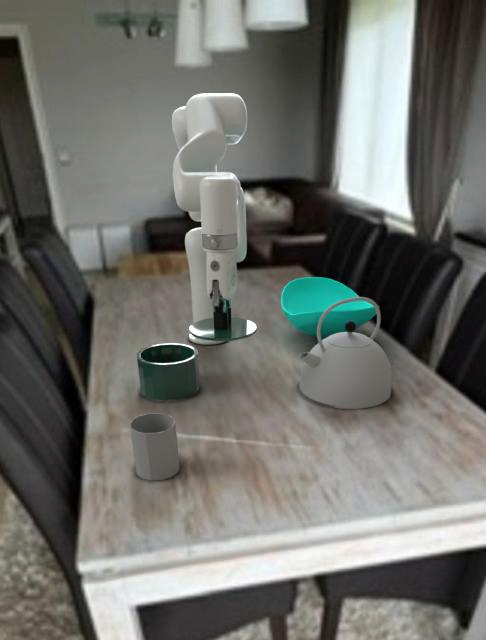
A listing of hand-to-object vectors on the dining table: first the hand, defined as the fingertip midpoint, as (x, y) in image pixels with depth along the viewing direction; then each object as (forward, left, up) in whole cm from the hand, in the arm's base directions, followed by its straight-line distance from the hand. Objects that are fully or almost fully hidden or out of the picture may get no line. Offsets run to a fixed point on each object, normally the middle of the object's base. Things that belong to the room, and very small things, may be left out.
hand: (222, 326), depth 131 cm
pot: (0, -14, -17) cm, 22 cm away
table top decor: (-50, +20, -17) cm, 56 cm away
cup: (+37, -4, -17) cm, 41 cm away
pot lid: (0, 0, -1) cm, 1 cm away
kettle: (-8, +28, -17) cm, 34 cm away
